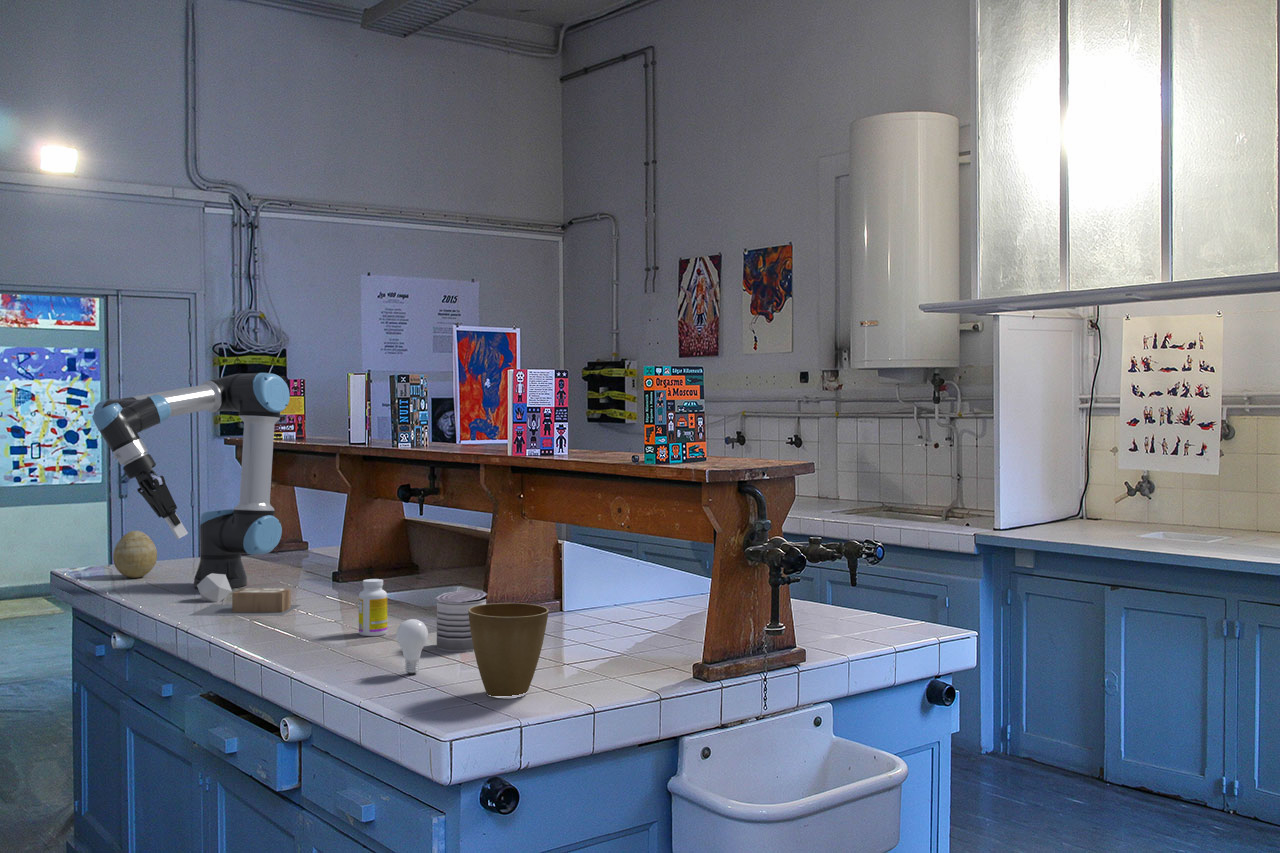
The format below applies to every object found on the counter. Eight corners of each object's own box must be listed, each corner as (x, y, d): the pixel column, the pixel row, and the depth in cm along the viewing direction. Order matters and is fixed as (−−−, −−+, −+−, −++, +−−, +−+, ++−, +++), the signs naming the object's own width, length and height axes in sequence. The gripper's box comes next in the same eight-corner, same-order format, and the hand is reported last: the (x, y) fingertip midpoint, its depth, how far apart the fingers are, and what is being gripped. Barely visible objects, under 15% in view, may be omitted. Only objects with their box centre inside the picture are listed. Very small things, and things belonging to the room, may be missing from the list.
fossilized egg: (145, 580, 338) (145, 533, 337) (105, 580, 338) (105, 532, 338) (164, 575, 350) (164, 528, 350) (125, 574, 350) (125, 528, 350)
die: (238, 603, 302) (232, 573, 306) (225, 592, 294) (219, 562, 299) (209, 614, 301) (204, 584, 305) (196, 603, 293) (190, 573, 298)
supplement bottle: (392, 632, 259) (393, 579, 259) (377, 637, 252) (377, 583, 252) (368, 630, 261) (369, 577, 261) (352, 635, 255) (353, 581, 254)
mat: (212, 606, 293) (212, 604, 293) (301, 606, 293) (301, 604, 293) (188, 617, 277) (188, 615, 277) (282, 617, 277) (282, 615, 277)
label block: (241, 588, 288) (290, 588, 289) (241, 607, 288) (290, 607, 289) (232, 592, 281) (282, 592, 282) (232, 612, 281) (282, 612, 282)
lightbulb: (398, 670, 220) (398, 616, 220) (429, 670, 220) (430, 616, 220) (393, 677, 213) (393, 622, 213) (426, 677, 214) (426, 622, 214)
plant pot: (481, 708, 191) (481, 618, 191) (458, 689, 205) (458, 605, 205) (559, 699, 198) (560, 612, 198) (532, 681, 211) (533, 600, 211)
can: (495, 648, 241) (495, 595, 241) (447, 654, 235) (447, 599, 235) (474, 639, 251) (474, 588, 251) (427, 645, 245) (428, 592, 245)
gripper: (113, 471, 286) (161, 547, 289) (131, 460, 277) (180, 539, 280) (139, 458, 291) (185, 533, 295) (157, 447, 282) (204, 525, 286)
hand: (182, 536), depth 287 cm, fingers closed
